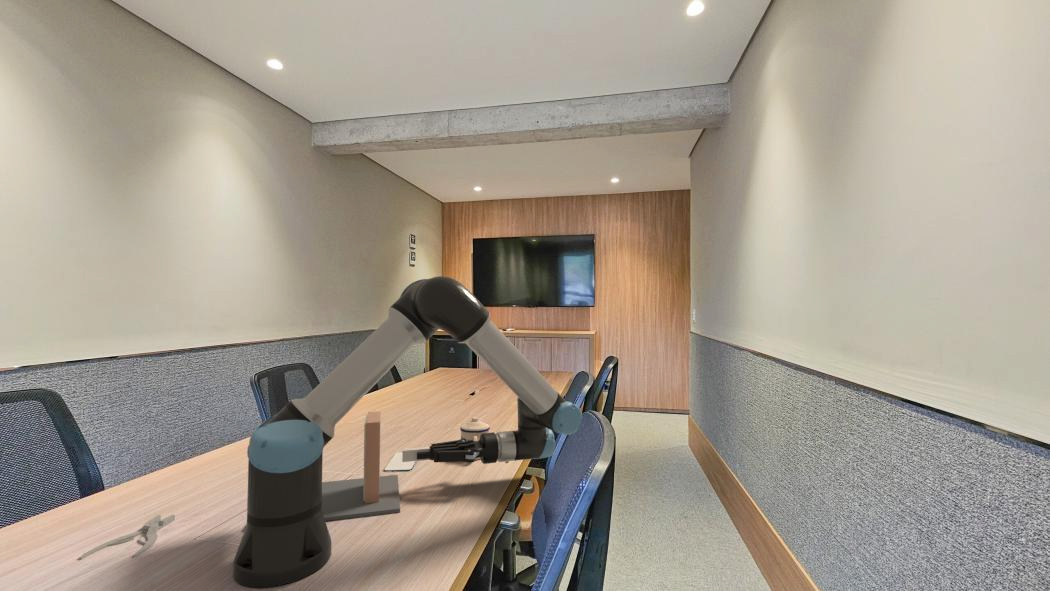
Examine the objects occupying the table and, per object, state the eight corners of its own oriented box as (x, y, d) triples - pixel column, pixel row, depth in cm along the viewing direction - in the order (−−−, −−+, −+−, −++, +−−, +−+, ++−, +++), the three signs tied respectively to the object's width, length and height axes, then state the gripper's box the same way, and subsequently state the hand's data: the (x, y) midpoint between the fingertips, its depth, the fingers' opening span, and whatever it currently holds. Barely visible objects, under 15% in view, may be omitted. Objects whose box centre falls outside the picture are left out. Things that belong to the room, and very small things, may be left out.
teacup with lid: (460, 452, 143) (460, 414, 143) (488, 450, 144) (489, 414, 145) (459, 464, 131) (459, 423, 132) (490, 463, 132) (491, 422, 133)
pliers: (77, 552, 80) (141, 515, 95) (76, 562, 80) (141, 523, 95) (136, 550, 81) (191, 513, 96) (136, 559, 81) (191, 521, 96)
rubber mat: (400, 512, 99) (400, 508, 99) (245, 531, 90) (245, 527, 90) (397, 477, 120) (397, 474, 120) (271, 490, 111) (271, 487, 111)
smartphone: (411, 473, 125) (421, 454, 141) (411, 469, 125) (421, 451, 141) (382, 473, 125) (395, 455, 141) (382, 470, 125) (395, 452, 141)
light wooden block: (379, 501, 103) (380, 422, 104) (363, 503, 102) (364, 423, 103) (379, 483, 114) (380, 411, 115) (365, 484, 113) (366, 412, 114)
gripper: (502, 470, 111) (403, 480, 104) (490, 454, 123) (401, 462, 117) (502, 439, 111) (403, 447, 104) (490, 426, 124) (401, 433, 117)
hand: (402, 455), depth 110 cm, fingers closed
